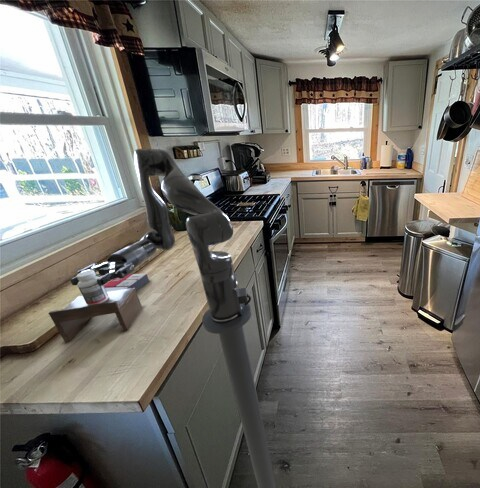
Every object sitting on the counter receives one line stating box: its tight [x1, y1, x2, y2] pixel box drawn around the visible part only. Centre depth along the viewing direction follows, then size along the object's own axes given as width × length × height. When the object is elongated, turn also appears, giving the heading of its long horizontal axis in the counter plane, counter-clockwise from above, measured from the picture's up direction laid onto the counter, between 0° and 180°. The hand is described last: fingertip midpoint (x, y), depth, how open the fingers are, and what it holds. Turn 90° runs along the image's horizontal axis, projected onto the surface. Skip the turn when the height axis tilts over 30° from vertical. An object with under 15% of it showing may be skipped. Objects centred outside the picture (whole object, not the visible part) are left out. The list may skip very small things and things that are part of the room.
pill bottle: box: [76, 270, 109, 305], centre depth 77 cm, size 5×5×10 cm
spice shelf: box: [48, 288, 143, 343], centre depth 80 cm, size 16×12×10 cm
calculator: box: [104, 273, 150, 292], centre depth 98 cm, size 11×4×15 cm
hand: (85, 282), depth 75 cm, fingers open, 8 cm apart
